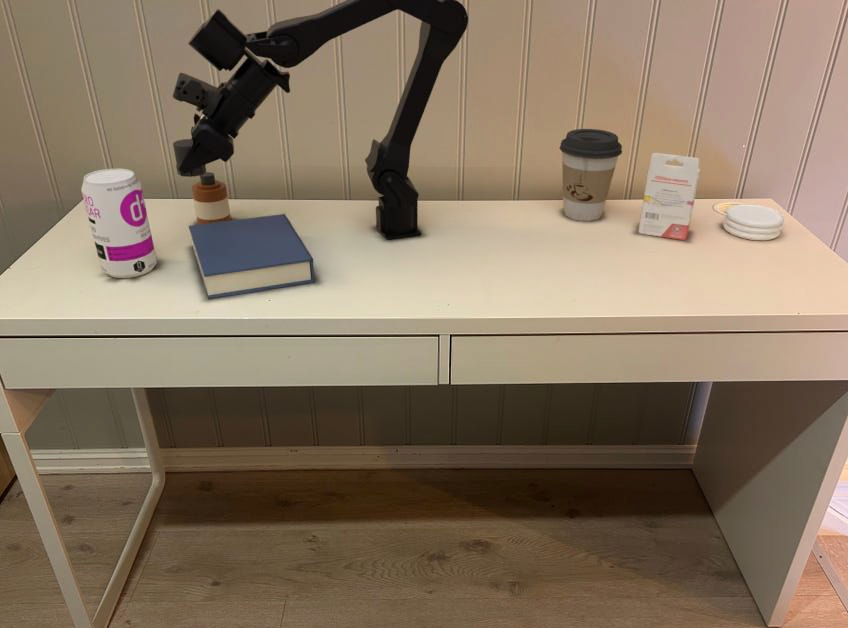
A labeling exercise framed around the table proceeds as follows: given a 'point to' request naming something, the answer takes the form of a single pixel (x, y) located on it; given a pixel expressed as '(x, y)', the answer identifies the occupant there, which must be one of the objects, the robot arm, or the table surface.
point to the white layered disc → (753, 222)
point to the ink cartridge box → (669, 196)
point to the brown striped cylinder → (210, 200)
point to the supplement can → (119, 222)
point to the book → (250, 255)
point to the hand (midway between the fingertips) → (182, 167)
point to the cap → (180, 153)
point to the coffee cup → (588, 171)
